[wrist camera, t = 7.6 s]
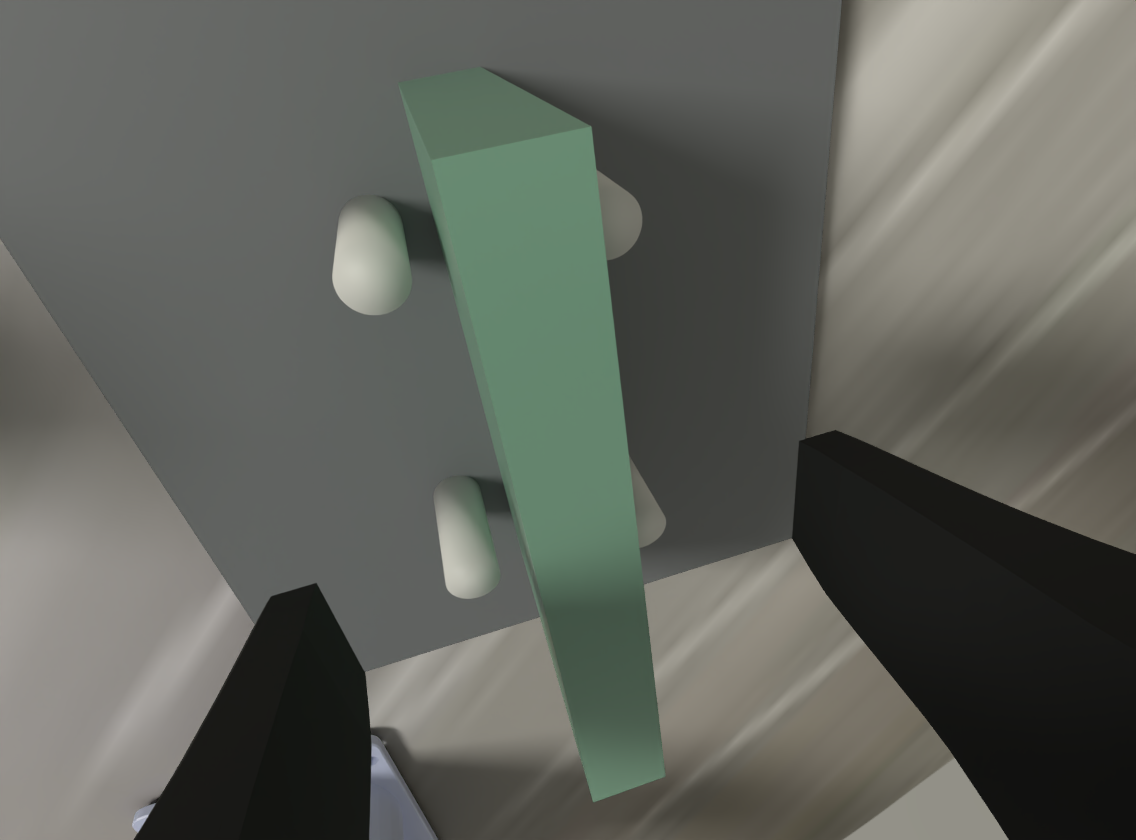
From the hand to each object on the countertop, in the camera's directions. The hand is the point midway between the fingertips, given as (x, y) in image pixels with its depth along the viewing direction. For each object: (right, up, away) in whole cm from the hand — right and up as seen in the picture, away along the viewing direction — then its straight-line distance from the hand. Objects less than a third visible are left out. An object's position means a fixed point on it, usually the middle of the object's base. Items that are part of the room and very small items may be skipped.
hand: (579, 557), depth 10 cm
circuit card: (-2, +3, +5) cm, 7 cm away
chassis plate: (-2, +4, +6) cm, 8 cm away
